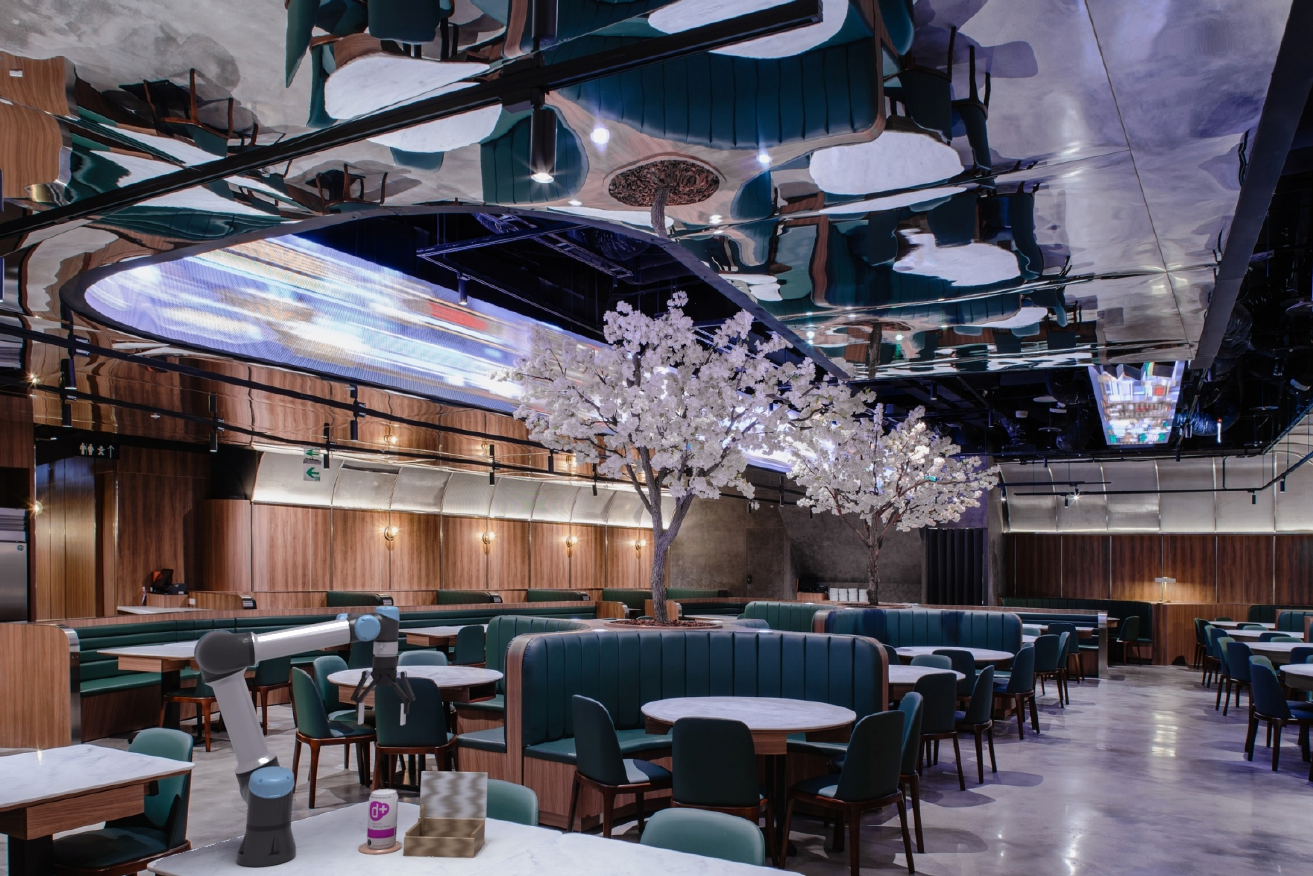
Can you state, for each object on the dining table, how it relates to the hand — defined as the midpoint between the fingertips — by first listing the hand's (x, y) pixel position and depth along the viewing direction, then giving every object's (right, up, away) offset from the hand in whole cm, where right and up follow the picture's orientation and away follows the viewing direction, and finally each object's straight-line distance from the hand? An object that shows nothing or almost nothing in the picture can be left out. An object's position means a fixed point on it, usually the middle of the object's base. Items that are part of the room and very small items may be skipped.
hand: (381, 724), depth 282 cm
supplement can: (+7, -28, -23) cm, 37 cm away
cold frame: (+26, -29, -24) cm, 45 cm away
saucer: (+7, -29, -23) cm, 37 cm away
